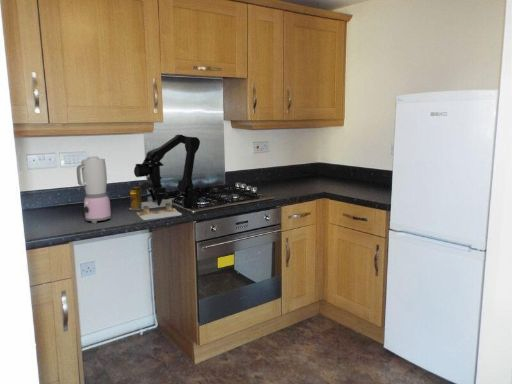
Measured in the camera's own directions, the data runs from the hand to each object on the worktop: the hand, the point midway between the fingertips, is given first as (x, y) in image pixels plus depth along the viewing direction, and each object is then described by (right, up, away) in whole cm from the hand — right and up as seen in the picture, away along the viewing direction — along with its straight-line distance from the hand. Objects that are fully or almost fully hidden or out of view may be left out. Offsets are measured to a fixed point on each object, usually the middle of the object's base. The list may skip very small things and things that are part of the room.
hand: (156, 204), depth 228 cm
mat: (+4, -6, -6) cm, 9 cm away
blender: (-27, -8, -13) cm, 32 cm away
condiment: (-14, -3, +14) cm, 20 cm away
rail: (0, -1, 0) cm, 1 cm away
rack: (0, -5, +1) cm, 5 cm away
